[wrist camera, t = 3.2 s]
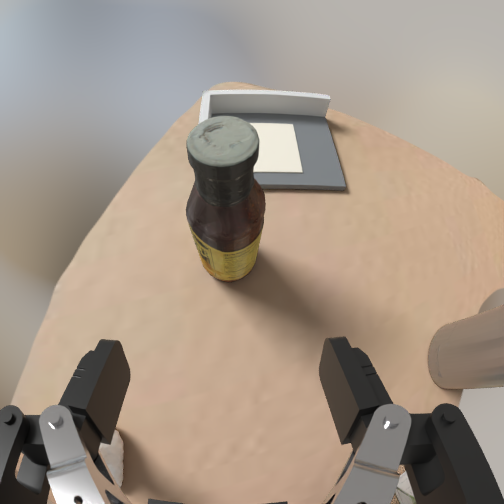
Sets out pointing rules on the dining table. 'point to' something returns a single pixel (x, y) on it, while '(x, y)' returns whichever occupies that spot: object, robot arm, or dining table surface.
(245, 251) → the sauce bottle
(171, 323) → the dining table surface
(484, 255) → the dining table surface
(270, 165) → the grey tray
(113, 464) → the sitting furry creature
